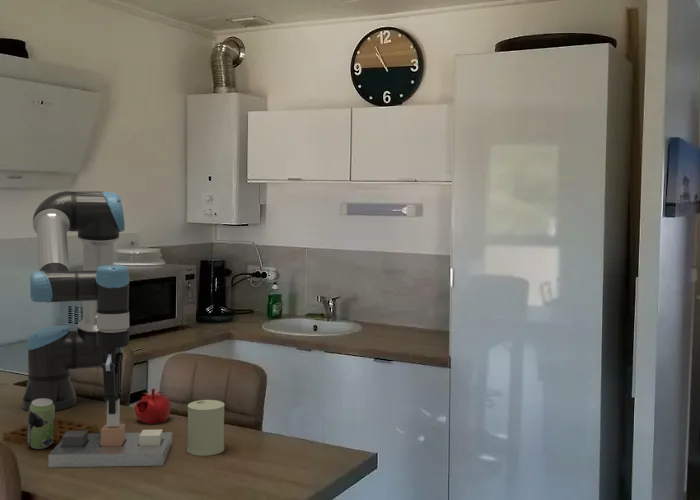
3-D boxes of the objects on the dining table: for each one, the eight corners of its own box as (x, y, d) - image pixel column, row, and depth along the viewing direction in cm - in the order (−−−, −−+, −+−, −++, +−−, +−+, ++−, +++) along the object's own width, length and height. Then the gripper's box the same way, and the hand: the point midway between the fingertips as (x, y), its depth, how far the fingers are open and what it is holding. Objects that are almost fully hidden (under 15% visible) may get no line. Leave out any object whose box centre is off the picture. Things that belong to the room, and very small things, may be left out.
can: (210, 441, 198) (211, 395, 197) (231, 450, 191) (232, 403, 190) (179, 449, 191) (180, 402, 190) (200, 458, 185) (200, 409, 184)
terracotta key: (105, 443, 188) (105, 423, 188) (125, 443, 189) (125, 423, 188) (100, 450, 183) (100, 429, 183) (121, 449, 184) (121, 429, 183)
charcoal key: (67, 450, 187) (67, 430, 187) (87, 450, 188) (87, 430, 187) (62, 457, 182) (62, 436, 182) (83, 457, 183) (82, 436, 183)
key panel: (67, 445, 193) (67, 433, 192) (171, 443, 195) (171, 432, 195) (48, 467, 177) (48, 454, 177) (163, 465, 179) (163, 453, 179)
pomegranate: (169, 415, 222) (169, 383, 221) (172, 424, 212) (173, 391, 212) (133, 417, 218) (134, 384, 218) (135, 426, 209) (136, 393, 209)
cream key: (142, 449, 189) (142, 429, 189) (162, 449, 190) (162, 429, 189) (139, 456, 184) (139, 435, 184) (159, 455, 185) (159, 435, 184)
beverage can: (45, 440, 196) (45, 394, 195) (60, 447, 191) (60, 400, 190) (21, 446, 191) (21, 399, 190) (36, 453, 186) (36, 405, 186)
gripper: (102, 325, 190) (103, 418, 192) (90, 334, 177) (91, 434, 179) (133, 325, 191) (133, 418, 192) (123, 334, 178) (123, 433, 179)
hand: (113, 425), depth 186 cm, fingers closed
